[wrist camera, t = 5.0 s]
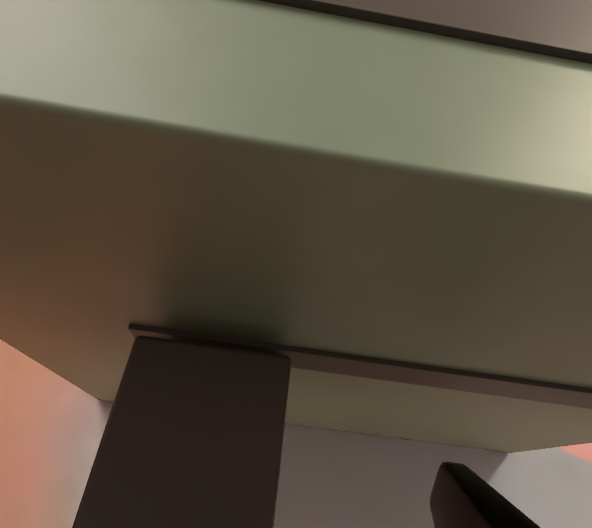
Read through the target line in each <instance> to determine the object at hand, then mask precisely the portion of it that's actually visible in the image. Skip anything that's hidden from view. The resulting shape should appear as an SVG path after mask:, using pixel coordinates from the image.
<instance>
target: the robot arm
mask: <svg viewBox="0 0 592 528" xmlns="http://www.w3.org/2000/svg"><path fill="white" fill-rule="evenodd" d="M430 508H431V513H432V517H433V522H434V526H435V528H540V527H539V526H538V525H537V524H535V523H534V522H533V521H532V520H531V519H529V518H528V517H527V516H526V515H525V514H523V513H522V512H521V511H520V510H519V509H517V508H516V507H515V506H514V505H513V504H511V503H510V502H509V501H508V500H507V499H505V498H504V497H503V496H502V495H501V494H499V493H498V492H497V491H496V490H495V489H493V488H492V487H491V486H490V485H489V484H487V483H486V482H485V481H484V480H483V479H481V478H480V477H479V476H478V475H477V474H475V473H474V472H473V471H472V470H471V469H469V468H468V467H467V466H466V465H464V464H460V463H452V462H443V463H442V464H441V465H440V467H439V469H438V473H437V476H436V479H435V482H434V486H433V489H432V492H431V496H430Z"/></svg>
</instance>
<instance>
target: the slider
mask: <svg viewBox="0 0 592 528" xmlns="http://www.w3.org/2000/svg"><path fill="white" fill-rule="evenodd" d="M290 371H291V359H290V357H288V356H286V355H279V354H272V353H265V352H258V351H251V350H243V349H236V348H229V347H222V346H215V345H208V344H200V343H193V342H186V341H179V340H172V339H165V338H157V337H150V336H143V335H142V336H137V337H136V338H135V340H134V342H133V345H132V348H131V351H130V354H129V358H128V361H127V364H126V367H125V370H124V373H123V376H122V379H121V382H120V385H119V388H118V391H117V394H116V397H115V400H114V403H113V406H112V409H111V412H110V415H109V418H108V421H107V424H106V427H105V430H104V433H103V436H102V439H101V442H100V445H99V448H98V451H97V454H96V457H95V460H94V463H93V466H92V469H91V472H90V475H89V478H88V481H87V484H86V487H85V490H84V493H83V497H82V500H81V503H80V506H79V509H78V512H77V515H76V518H75V521H74V524H73V527H72V528H273V525H274V516H275V507H276V498H277V489H278V480H279V471H280V462H281V453H282V443H283V434H284V425H285V416H286V407H287V398H288V389H289V380H290Z"/></svg>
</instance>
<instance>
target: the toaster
mask: <svg viewBox="0 0 592 528" xmlns="http://www.w3.org/2000/svg"><path fill="white" fill-rule="evenodd" d="M142 335H143V336H150V337H157V338H165V339H172V340H179V341H186V342H193V343H200V344H208V345H215V346H222V347H229V348H236V349H243V350H251V351H258V352H265V353H272V354H279V355H286V356H288V357H290V359H291V371H290V380H289V389H288V398H287V407H286V416H285V424H293V425H301V426H308V427H316V428H324V429H332V430H339V431H347V432H355V433H362V434H370V435H378V436H386V437H393V438H401V439H409V440H416V441H424V442H432V443H440V444H447V445H455V446H463V447H471V448H478V449H486V450H494V451H501V452H509V453H513V452H521V451H529V450H537V449H545V448H553V447H560V446H568V445H576V444H584V443H592V0H0V339H1V340H3V341H4V342H6V343H8V344H9V345H11V346H12V347H14V348H16V349H17V350H19V351H21V352H22V353H24V354H25V355H27V356H29V357H30V358H32V359H34V360H35V361H37V362H38V363H40V364H42V365H43V366H45V367H46V368H48V369H50V370H51V371H53V372H55V373H56V374H58V375H59V376H61V377H63V378H64V379H66V380H68V381H69V382H71V383H72V384H74V385H76V386H77V387H79V388H80V389H82V390H84V391H85V392H87V393H89V394H90V395H92V396H93V397H95V398H97V399H100V400H108V401H114V400H115V397H116V394H117V391H118V388H119V385H120V382H121V379H122V376H123V373H124V370H125V367H126V364H127V361H128V358H129V354H130V351H131V348H132V345H133V342H134V340H135V338H136V337H137V336H142Z"/></svg>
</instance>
